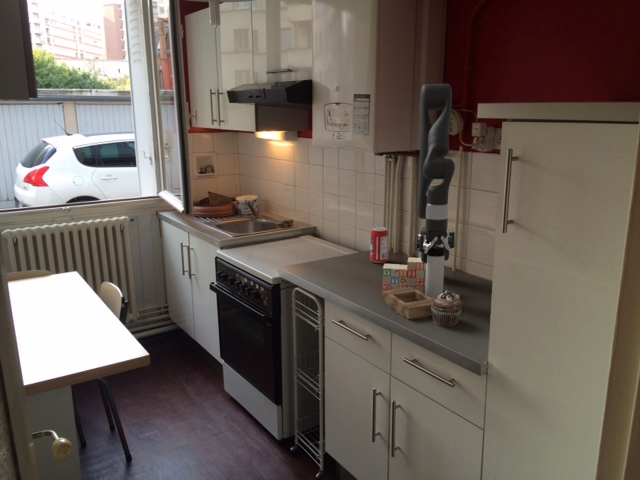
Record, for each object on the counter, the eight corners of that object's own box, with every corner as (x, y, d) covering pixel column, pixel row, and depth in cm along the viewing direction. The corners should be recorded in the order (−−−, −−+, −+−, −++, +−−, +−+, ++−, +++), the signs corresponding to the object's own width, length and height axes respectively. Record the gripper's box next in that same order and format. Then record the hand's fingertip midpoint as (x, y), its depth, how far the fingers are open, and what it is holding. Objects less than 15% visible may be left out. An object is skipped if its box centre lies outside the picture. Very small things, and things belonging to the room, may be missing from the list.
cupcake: (439, 313, 184) (440, 285, 181) (466, 320, 178) (467, 291, 175) (424, 322, 177) (425, 292, 174) (451, 330, 171) (453, 299, 168)
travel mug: (420, 299, 197) (422, 245, 193) (432, 295, 202) (434, 242, 197) (434, 303, 193) (436, 248, 188) (446, 299, 197) (448, 245, 192)
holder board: (382, 301, 195) (382, 291, 194) (411, 297, 200) (411, 286, 199) (408, 319, 179) (408, 308, 178) (439, 314, 183) (440, 302, 182)
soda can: (383, 264, 240) (384, 231, 236) (367, 262, 244) (367, 229, 240) (390, 260, 246) (391, 227, 243) (374, 258, 250) (375, 226, 247)
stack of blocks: (381, 291, 206) (382, 260, 203) (383, 286, 212) (384, 255, 209) (440, 295, 201) (441, 263, 198) (440, 290, 207) (442, 258, 204)
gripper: (447, 212, 196) (445, 256, 200) (413, 216, 191) (411, 261, 195) (460, 216, 189) (458, 262, 193) (425, 220, 184) (423, 266, 188)
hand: (434, 261), depth 194 cm, fingers open, 8 cm apart
